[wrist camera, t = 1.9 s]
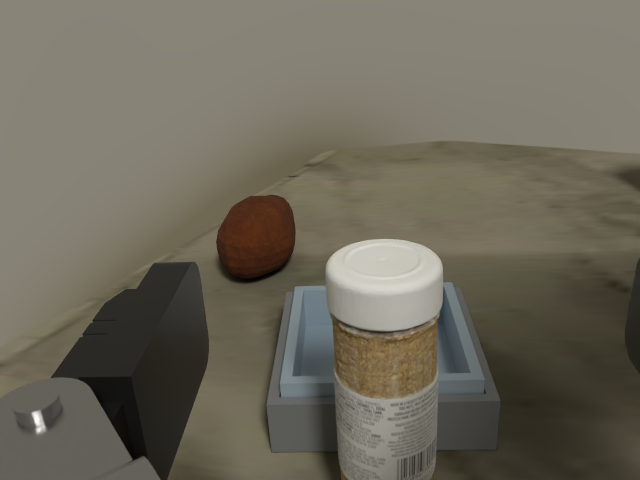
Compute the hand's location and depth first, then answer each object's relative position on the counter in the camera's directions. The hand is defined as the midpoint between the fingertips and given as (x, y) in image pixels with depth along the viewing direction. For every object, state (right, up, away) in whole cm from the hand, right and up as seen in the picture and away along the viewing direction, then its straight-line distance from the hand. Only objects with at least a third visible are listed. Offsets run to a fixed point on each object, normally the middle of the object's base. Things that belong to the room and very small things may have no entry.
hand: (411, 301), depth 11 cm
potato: (-7, -2, +42) cm, 43 cm away
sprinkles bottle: (+1, -12, +18) cm, 21 cm away
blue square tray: (+2, -8, +27) cm, 28 cm away
